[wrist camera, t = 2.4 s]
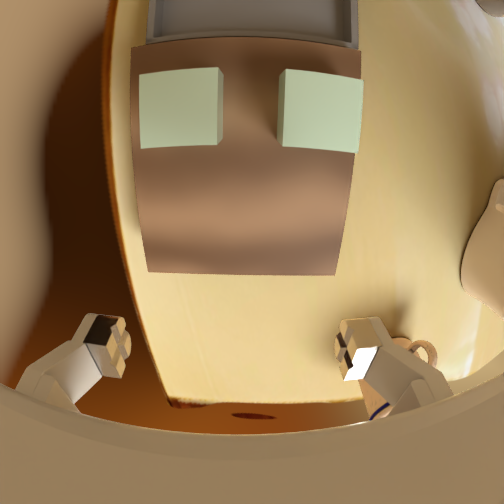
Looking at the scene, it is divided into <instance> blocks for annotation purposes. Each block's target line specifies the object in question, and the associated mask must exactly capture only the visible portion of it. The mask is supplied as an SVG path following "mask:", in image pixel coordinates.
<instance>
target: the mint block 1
mask: <svg viewBox="0 0 504 504" xmlns="http://www.w3.org/2000/svg"><path fill="white" fill-rule="evenodd" d="M223 80H224V74H223V73H222V72H221V70H220V69H219V68H218V67H212V68H194V69H181V70H171V71H162V72H155V73H148V74H141V75H139V120H140V143H141V149H143V148H156V147H171V146H194V145H218V143H219V142H220V141H221V140H222V139H223Z"/></svg>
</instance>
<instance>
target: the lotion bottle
mask: <svg viewBox="0 0 504 504" xmlns="http://www.w3.org/2000/svg"><path fill="white" fill-rule="evenodd" d="M476 2H477V3H478V4H479V5H480V6H481V8H482V9H483V10H484V11H486V12H487V13H488V14H490V15H492V16H494V17H504V0H476Z"/></svg>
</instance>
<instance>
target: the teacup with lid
mask: <svg viewBox="0 0 504 504" xmlns="http://www.w3.org/2000/svg"><path fill="white" fill-rule="evenodd" d="M392 340H393V342H394V344H395V345H396V344H399V345H400V346H402V347H403V348H405V349H406V350H408V351H409V352H411V353H412V354H414V355H416V356H417V357H419V358H420V356H419V354H418V352H417V349H418V348H419V347H420V346H421V347H423V348H424V349H425V350H426V352H427V354H428V364H430V365H431V366H433V367H434V368H435V367H436V365H437V352H436V349H435V348H434V346H433V345H432V344H431V343H429V342H427V341H424V340H418V341H415V342H413V343H412V342H411V341H410V340H408V339H406V338H392ZM420 359H421V358H420ZM358 381H359V384H360V388H361V391H362V394H363V397H364V401H365V404H366V407H367V411H368V414H369V418H370V419H369V421H371V420H375V419H379V418H383V417H386V416H387V415H388V413H389V412H390V411H391V410H392V408H393V406H391V405H390V404H389V403H388V402H387V401H386V400H385V399H384V398H383V397H382V396H381V395H380V394H379V393H378V392H376V391H375V390H374V389H373V388H372V387H371V386H370V385H369V384H368V383H367V382H366V381H365V380H364V378H363V379H358Z"/></svg>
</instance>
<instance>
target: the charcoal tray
mask: <svg viewBox="0 0 504 504" xmlns="http://www.w3.org/2000/svg"><path fill="white" fill-rule="evenodd" d="M216 37H260V38H278V39H290V40H299V41H308V42H315V43H322V44H328V45H334V46H339V47H344V48H349V49H354V50H358V3H357V0H150V1H149V10H148V20H147V33H146V45H149V44H155V43H162V42H169V41H177V40H187V39H199V38H216Z"/></svg>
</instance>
